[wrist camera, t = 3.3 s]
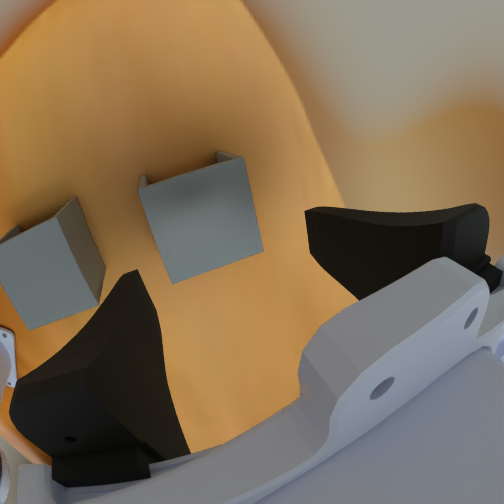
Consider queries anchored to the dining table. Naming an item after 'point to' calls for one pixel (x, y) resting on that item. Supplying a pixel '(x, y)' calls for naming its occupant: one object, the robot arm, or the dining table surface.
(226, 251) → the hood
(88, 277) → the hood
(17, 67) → the dining table surface
